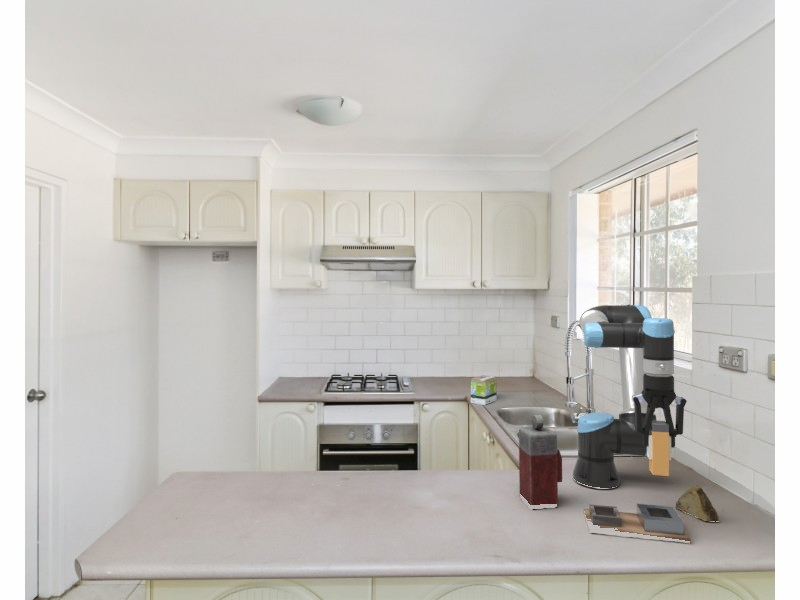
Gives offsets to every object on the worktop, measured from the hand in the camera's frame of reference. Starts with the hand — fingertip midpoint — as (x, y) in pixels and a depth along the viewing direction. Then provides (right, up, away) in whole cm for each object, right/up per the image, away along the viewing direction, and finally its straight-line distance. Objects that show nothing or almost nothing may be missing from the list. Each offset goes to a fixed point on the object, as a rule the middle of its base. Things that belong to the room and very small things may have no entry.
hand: (658, 457), depth 132 cm
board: (-6, -21, +2) cm, 21 cm away
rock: (+16, -20, +9) cm, 27 cm away
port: (0, -19, +1) cm, 19 cm away
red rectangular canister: (-27, -21, +19) cm, 39 cm away
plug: (0, -4, 0) cm, 4 cm away
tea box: (-22, -17, +152) cm, 154 cm away
